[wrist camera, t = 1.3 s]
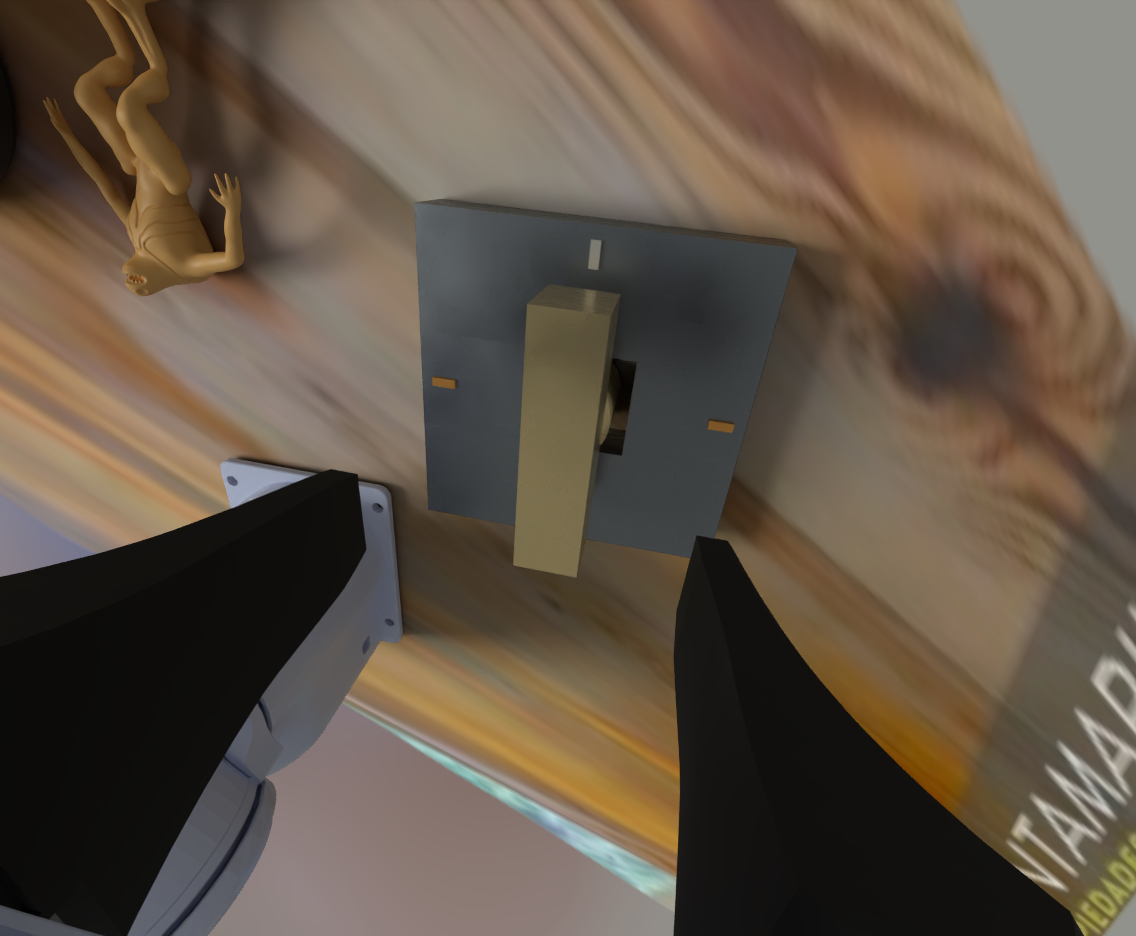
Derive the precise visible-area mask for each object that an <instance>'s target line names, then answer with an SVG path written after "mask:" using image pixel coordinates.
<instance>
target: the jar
mask: <svg viewBox="0 0 1136 936" xmlns="http://www.w3.org/2000/svg"><path fill="white" fill-rule="evenodd" d="M16 128H17V125H16V111H15V104H14V98H13V93H12V89H11V85H10V81H9V77H8V74H7V71H6V68H5V65H4V62H3V59H2V57H1V54H0V180H1V178H2V176H3V175H4V173H5V171H6V170H7V168H8V166H9V164H10V162H11V159H12V156H13V153H14V149H15V143H16Z"/></svg>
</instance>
